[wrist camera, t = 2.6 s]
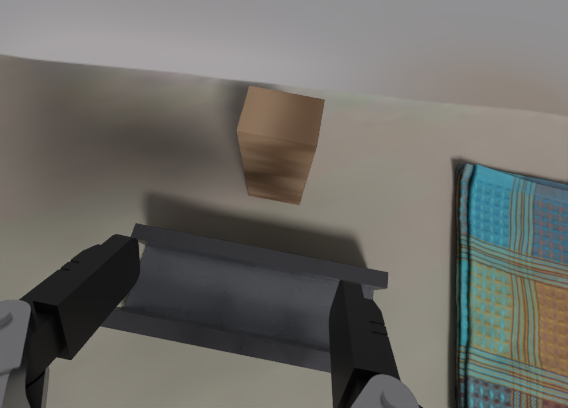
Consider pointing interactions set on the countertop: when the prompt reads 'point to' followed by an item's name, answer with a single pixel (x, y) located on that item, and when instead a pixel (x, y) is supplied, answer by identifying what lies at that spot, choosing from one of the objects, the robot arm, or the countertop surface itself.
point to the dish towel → (511, 290)
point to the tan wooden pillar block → (278, 142)
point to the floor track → (236, 297)
